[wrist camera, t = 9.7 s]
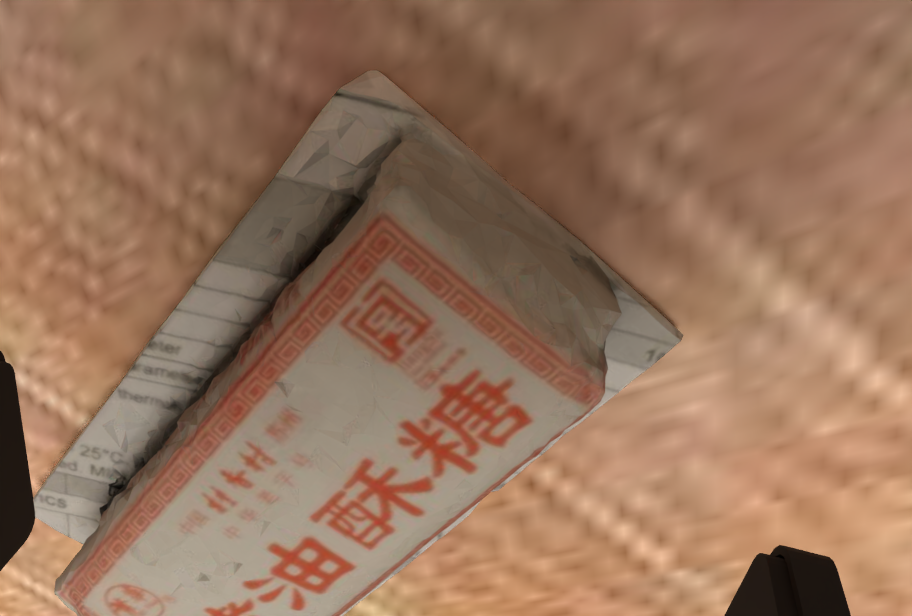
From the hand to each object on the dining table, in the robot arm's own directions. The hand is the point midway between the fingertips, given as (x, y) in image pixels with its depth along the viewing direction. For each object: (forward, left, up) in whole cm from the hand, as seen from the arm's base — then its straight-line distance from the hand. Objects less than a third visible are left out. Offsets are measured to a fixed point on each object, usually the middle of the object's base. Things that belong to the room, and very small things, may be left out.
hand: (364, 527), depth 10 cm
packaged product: (+7, -3, -11) cm, 14 cm away
